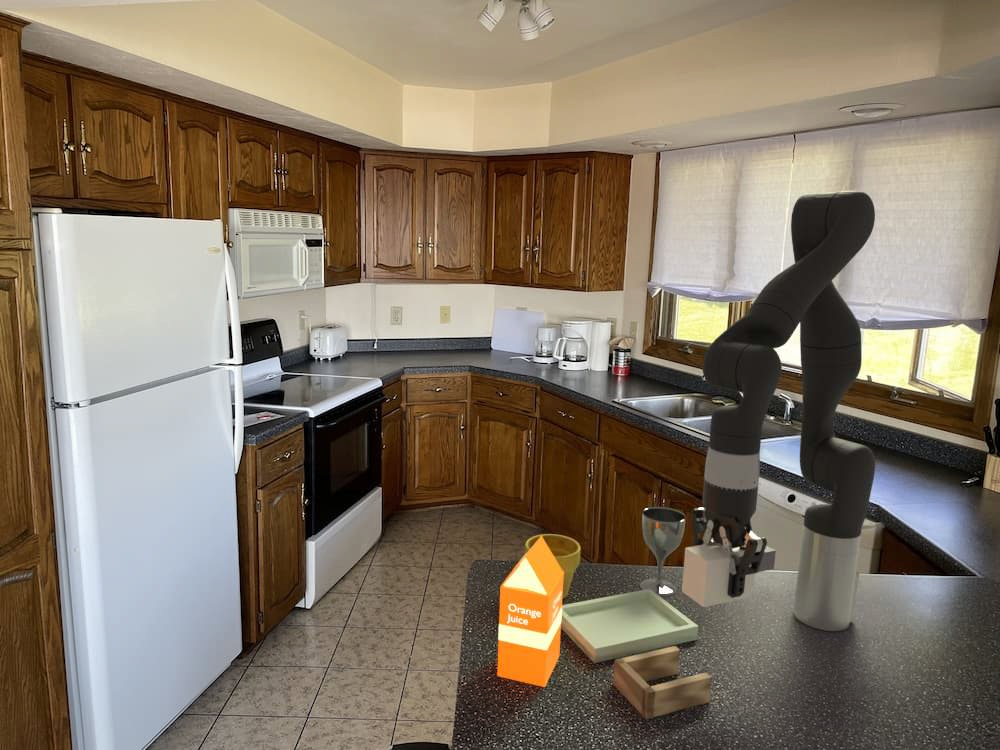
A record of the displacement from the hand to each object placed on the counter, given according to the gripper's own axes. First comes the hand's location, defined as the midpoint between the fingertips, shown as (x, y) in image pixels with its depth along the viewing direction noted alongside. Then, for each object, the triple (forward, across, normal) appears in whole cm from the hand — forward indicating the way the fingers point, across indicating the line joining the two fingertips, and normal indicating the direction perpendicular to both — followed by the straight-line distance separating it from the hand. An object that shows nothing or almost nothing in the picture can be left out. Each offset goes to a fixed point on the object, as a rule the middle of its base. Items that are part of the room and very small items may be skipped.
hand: (721, 586), depth 106 cm
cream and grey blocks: (+1, 0, -2) cm, 2 cm away
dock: (+15, 0, +9) cm, 18 cm away
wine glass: (+15, +28, -10) cm, 33 cm away
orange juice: (+15, +13, +25) cm, 32 cm away
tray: (+15, +17, +5) cm, 23 cm away
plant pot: (+15, +33, +11) cm, 38 cm away
